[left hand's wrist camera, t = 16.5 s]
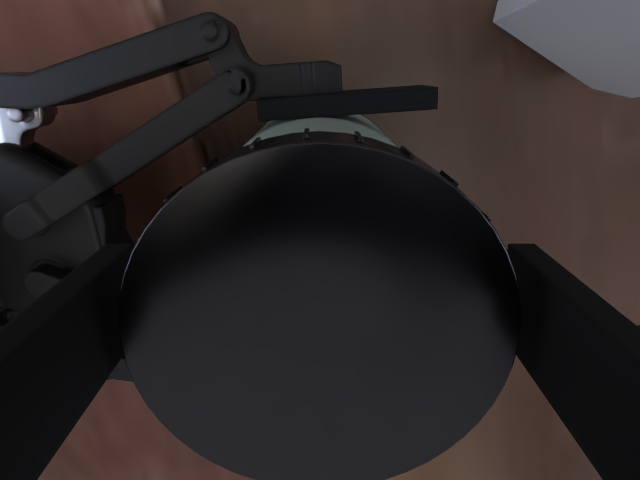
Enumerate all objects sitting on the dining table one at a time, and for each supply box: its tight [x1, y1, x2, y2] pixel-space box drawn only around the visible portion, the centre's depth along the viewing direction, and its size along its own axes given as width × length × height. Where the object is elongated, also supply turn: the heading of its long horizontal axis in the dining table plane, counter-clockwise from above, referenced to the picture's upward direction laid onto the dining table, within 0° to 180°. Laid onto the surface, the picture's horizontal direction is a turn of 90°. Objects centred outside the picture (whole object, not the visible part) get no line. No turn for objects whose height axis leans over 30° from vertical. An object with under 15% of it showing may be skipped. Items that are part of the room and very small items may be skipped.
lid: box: [118, 128, 521, 480], centre depth 11 cm, size 10×10×2 cm
